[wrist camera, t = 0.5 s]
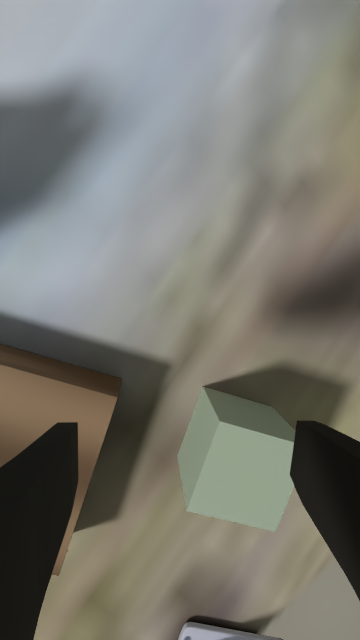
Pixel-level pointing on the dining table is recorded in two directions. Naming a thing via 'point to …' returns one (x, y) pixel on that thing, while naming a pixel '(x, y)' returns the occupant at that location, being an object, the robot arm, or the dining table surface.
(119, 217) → the dining table surface
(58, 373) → the base block
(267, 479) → the cube
